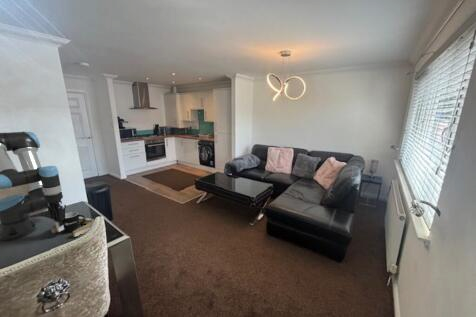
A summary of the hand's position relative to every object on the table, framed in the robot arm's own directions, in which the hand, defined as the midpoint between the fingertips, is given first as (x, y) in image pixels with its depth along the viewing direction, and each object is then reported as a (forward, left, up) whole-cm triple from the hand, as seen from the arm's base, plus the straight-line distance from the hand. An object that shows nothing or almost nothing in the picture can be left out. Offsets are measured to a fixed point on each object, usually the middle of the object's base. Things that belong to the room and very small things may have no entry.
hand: (60, 230), depth 116 cm
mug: (0, +7, -4) cm, 8 cm away
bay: (+1, +7, -4) cm, 8 cm away
